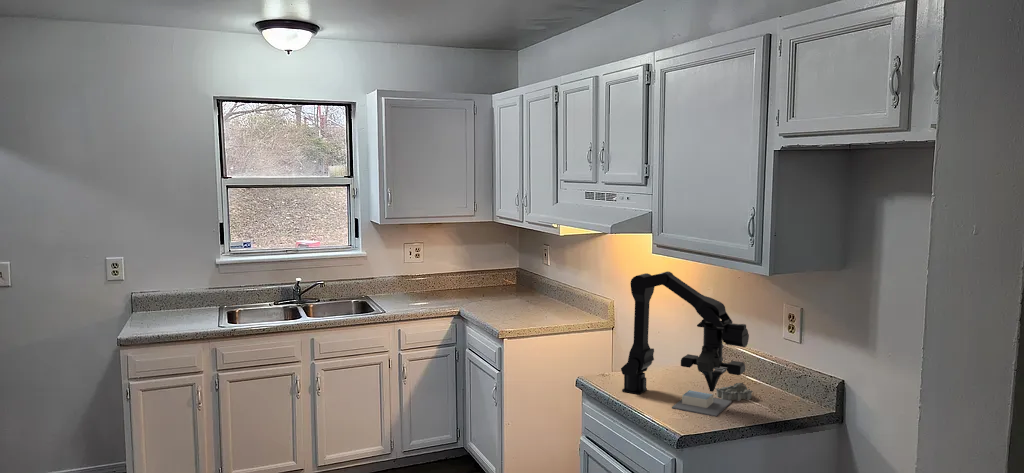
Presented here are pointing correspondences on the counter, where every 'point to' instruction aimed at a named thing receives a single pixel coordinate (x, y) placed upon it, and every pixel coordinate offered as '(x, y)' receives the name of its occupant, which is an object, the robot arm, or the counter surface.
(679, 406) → the mat
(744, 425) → the counter surface
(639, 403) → the counter surface
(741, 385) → the egg carton
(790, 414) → the counter surface
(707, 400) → the card box
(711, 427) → the counter surface
